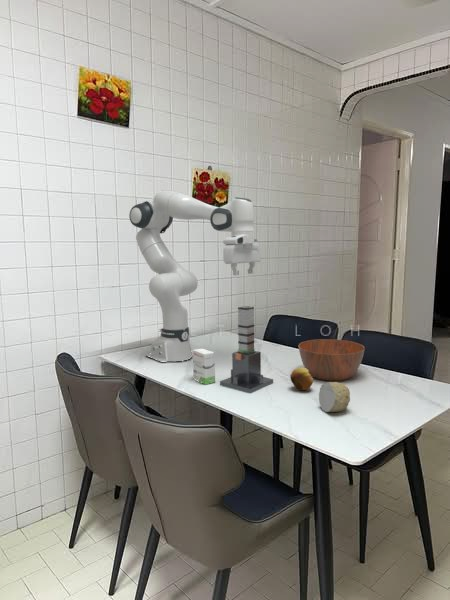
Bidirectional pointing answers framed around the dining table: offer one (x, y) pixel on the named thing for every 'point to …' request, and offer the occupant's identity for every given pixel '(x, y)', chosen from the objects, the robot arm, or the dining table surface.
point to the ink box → (203, 366)
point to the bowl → (331, 358)
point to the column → (246, 330)
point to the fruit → (301, 378)
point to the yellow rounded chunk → (334, 397)
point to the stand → (246, 373)
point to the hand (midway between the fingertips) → (243, 274)
